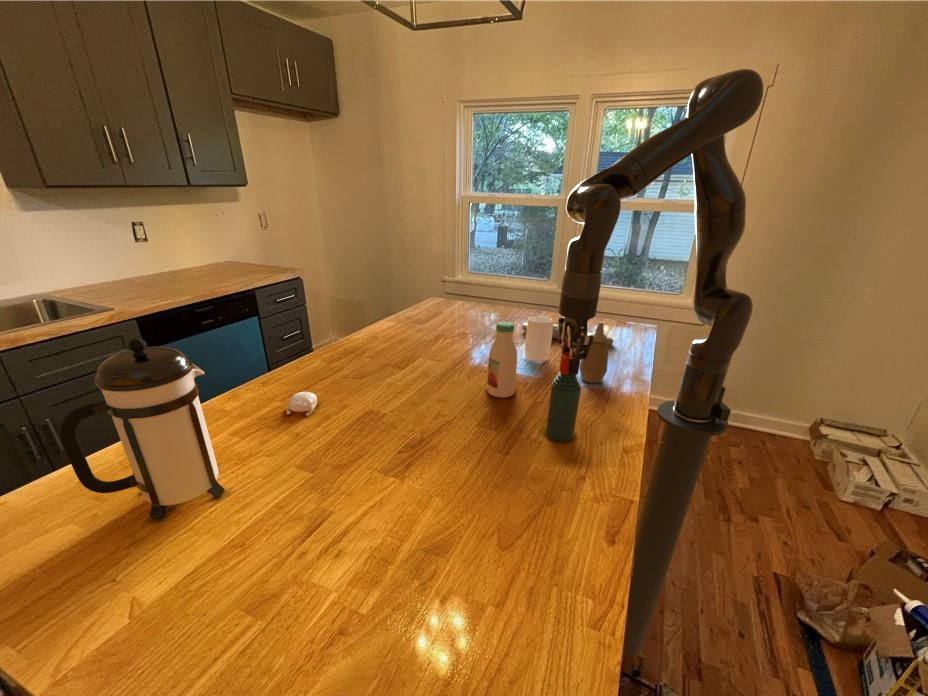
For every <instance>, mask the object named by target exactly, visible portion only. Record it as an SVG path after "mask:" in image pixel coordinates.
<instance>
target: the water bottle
mask: <svg viewBox="0 0 928 696" xmlns="http://www.w3.org/2000/svg"><path fill="white" fill-rule="evenodd" d="M581 391H582V383H581V381H580V378H579V377H578V374H577V375H566V374H563V373H561V372H560V371H559V372H558V374H557V375H556V376H555V377H554V378H553V380H552V382H551V389H550V397H549V404H548V411H547V420H546V427H545V435H546V436H547V437H548V438H549V439H551V440H553V441H556V442H568V441H571V440H572V439H573V438H574V434H575V428H576V423H577V417H578V416H577V415H578V410H579V409H578V408H579V404H580V396H581Z"/></svg>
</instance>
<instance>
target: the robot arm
mask: <svg viewBox="0 0 928 696" xmlns="http://www.w3.org/2000/svg"><path fill="white" fill-rule="evenodd" d="M764 89H765V88H764V81H763V79H762V77H761V75H760V74H759V72H757V71H756V70H753V69H751V68H750V69H749V68H742V69H735V70H732V71H729V72H726V73H721V74H718V75H716V76H712V77H709V78H706V79H703V80H702V81H700V82H699V83H698V84H697V85H696V86H695V87H694V89H693V90H692V91H691V94H690V96H689V99H688V103H687V109H686V110H687V111H686V117H685V118H683V119H682V120H680V121H678V122H676V123H674V124H672V125H671V126H669V127H667V128H664V129H663V130H661V131H659V132H657V133H656V134H653V135H652V136H650V137H649V138H647V139H645V140H643V142H641V143H640V144H638V145H637V146H635V147H634V148H632V149H631V150H630V151H629V152H627V153H626V154H624V155H623V156H622V157H621V158H620V159H619V160H617V161H616V162H615V163H614V164H612V165H610V166H608V167H606V168H604V169H602V170H600V171H598V172H596V173H595V174H593V175H591V176H589V177H588V178H585V179H584V180H582V181H581V182H579V184H577V185H576V186H575V187H574V188H573V189H572V190H571V191H570V193H569V195H568V197H567V200H566V202H565V203H566V204H565V210H566V213H567V215H568V217H569V218H570V220H572V221H573V222H575V223H578V224H582V225H583V226H582V229H581V231H580V235H579V236H578V237H574V238H572V239H571V240H570V241H569V243H568V246H567V253H566V260H565V268H564V272H563V273H564V274H563V277H562V282H561V289H560V297H559V303H558V304H559V305H558V314H559V315H560V316H562V317H558V322H557V323H558V339H557V342H558V345H560V350H561V354H562V353H564V352H570V358H569V364H568V371H567V373H568V374H569V375H577V376H578V375H579V373H580V372H579V371H580V363H581V359H586V358H587V355H588V352H589V350H590V347H591V344H592V341H593V335H588V334H587V332H588V328H589V327H588V325H589V324H588V322H589V321H590V320H591V319H594V318H595V317H596V316H597V310H598V304H599V298H600V292H601V285H602V271H603V266H604V260H605V253H606V252H605V251H606V249H607V246H608V244H609V243H610V240H611V237H612V235H613V233H614V230H615V228H616V225H617V222H618V220H619V218H620V214H621V208H622V199H623V200H624V199H629V198H632V197H634V196H636V195H638V194H639V193H641V192H642V191H643V190H644V189H646V188H647V187H649V185H651V184H652V183H653V182H655V181H657V179H659V178H660V177H661V176H663V175H664V174H665V173H667V172H668V171H669V170H671V169H672V168H673V167H675V166H676V165H678V164H680V163H681V162H682V161H683V160H685V159H687V158H688V157H689V156H691V160H692V169H693V184H694V231H695V247H696V248H695V249H696V250H695V263H696V264H695V267H696V269H695V284H694V294H693V312H694V316H695V317H696V319H697V320H698V321H699V322H700V323H702V324H704V325H707V326H708V327H711V328H710V330H709V333H708V335H707V337H698V338H695V339H694V340H692V342H691V344H690V347H689V350H688V353H687V358H686V362H685V366H684V369H683V373H682V377H681V380H680V383H679V388H678V391H677V395H676V398H674V400H675V401H674V403H675V405H674V407H673V413H674V415H675V416H677V417H678V418H680V419H682V420H684V421H687V422H690V423H695V424H708V423H710V422H715V421H716V418H717V419H718V420H720V421H728V422H729V417H730V415H731V412H732V409H731V408H730V407H729V406H727V405H726V404H725V403H724V402H723V399H724V396H725V392H726V389H727V388H725V386H724V384H725V380H726V377H727V374H728V372H729V368H730V364H731V362H732V359H733V356H734V354H735V352H736V351H737V349H738V348H739V346H740V345H741V343H742V341H743V337H744V335H745V333H746V330H747V327H748V325H749V323H750V320H751V317H752V314H753V305H754V304H753V300H752V298H751V296H750V295H748V294H746V293H745V292H741V291H738V290H735V289H731V288H728V285H727V268H728V267H727V266H728V262H729V260H730V257H731V256H732V255H733V253H734V251H735V249H736V248H737V246H738V245H739V243H740V241H741V240H742V238H743V235H744V233H745V228H746V220H747V219H746V217H747V216H746V215H747V213H746V212H747V198H746V193H745V190H744V187H743V185H742V184H741V181H740V180H739V178H738V175H737V174H736V172H735V170H734V169H733V168H732V165H731V163H730V161H729V159H728V156H727V152H726V141H725V135H726V134H728V133H730V132H732V131H733V130H735V129H737V128H739V127H741V126H743V125H745V124H746V123H747V122H749V121H750V120H751V119H752V118H753V116H755V114H756V113H757V111H758V109H759V107H760V106H761V103H762V101H763V97H764ZM560 362H561V360H560V361H559V363H560Z"/></svg>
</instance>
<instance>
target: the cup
mask: <svg viewBox="0 0 928 696" xmlns="http://www.w3.org/2000/svg"><path fill="white" fill-rule="evenodd" d="M527 323H528V324H527V331H526V332H525V343H524V344H525V345H524V357H525V358H526V359H527V360H529V361H531V362H532V361H533V362H546V361H548V360H549V357H550V354H551V353H550V352H551V348H552V347H551V346H552V341H553V340H552V339H553V338H552V332H553V324H554V320H553V319H552V318H551V317H548V316H545V315H544V316H543V315H533V316H530V317H528V319H527Z"/></svg>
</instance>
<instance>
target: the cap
mask: <svg viewBox="0 0 928 696" xmlns="http://www.w3.org/2000/svg"><path fill="white" fill-rule="evenodd" d="M561 353H562V352H561ZM569 358H570V352H564V353H562V354H561V355H560V361H561V362H560V361H559V368H558V369H559V370H558V371H559V373H560V372H561V373H563V374H566V375H569V374H568V373H567V371H568V364H569Z"/></svg>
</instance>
